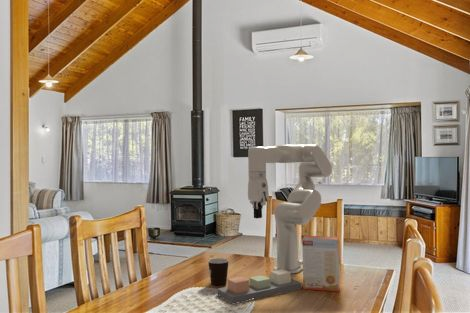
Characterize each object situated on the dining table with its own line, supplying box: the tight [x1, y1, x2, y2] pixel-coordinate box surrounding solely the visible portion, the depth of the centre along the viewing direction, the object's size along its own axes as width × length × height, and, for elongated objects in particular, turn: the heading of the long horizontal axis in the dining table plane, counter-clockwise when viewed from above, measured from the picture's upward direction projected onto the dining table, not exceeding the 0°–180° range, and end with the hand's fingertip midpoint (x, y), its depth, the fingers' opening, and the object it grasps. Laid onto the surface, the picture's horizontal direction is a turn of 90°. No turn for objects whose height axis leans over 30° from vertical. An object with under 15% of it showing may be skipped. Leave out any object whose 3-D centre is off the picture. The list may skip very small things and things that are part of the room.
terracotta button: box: [227, 276, 250, 294], centre depth 167 cm, size 6×6×5 cm
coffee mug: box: [207, 257, 229, 288], centre depth 185 cm, size 12×9×10 cm
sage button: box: [249, 274, 271, 289], centre depth 173 cm, size 6×6×5 cm
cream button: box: [269, 269, 292, 285], centre depth 178 cm, size 6×6×5 cm
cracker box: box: [301, 235, 340, 293], centre depth 175 cm, size 14×6×21 cm, turn 71°
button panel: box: [216, 278, 302, 304], centre depth 173 cm, size 32×12×2 cm, turn 120°
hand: (257, 217), depth 188 cm, fingers closed
